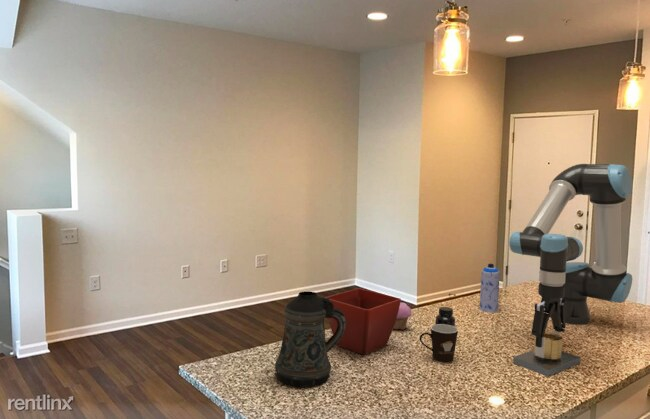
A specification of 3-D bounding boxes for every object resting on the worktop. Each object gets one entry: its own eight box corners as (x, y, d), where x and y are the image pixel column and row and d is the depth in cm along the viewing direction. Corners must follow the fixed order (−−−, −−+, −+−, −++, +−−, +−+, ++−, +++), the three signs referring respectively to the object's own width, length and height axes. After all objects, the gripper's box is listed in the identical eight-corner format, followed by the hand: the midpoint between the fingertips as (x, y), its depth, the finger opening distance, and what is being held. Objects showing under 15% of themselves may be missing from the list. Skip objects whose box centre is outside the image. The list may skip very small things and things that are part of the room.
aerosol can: (500, 312, 216) (503, 266, 214) (482, 312, 216) (484, 265, 214) (494, 307, 224) (497, 262, 222) (476, 306, 224) (479, 261, 222)
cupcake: (409, 325, 197) (410, 300, 196) (411, 333, 189) (412, 306, 188) (386, 324, 198) (387, 299, 197) (387, 331, 190) (387, 305, 189)
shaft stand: (545, 351, 173) (546, 332, 172) (580, 363, 163) (581, 343, 162) (513, 362, 162) (514, 343, 162) (548, 376, 153) (549, 355, 152)
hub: (542, 347, 168) (543, 330, 167) (566, 355, 161) (567, 337, 161) (528, 352, 163) (529, 334, 163) (552, 361, 157) (553, 342, 156)
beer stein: (266, 371, 153) (266, 289, 151) (322, 359, 163) (323, 282, 160) (289, 393, 139) (290, 304, 136) (350, 379, 148) (352, 295, 146)
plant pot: (400, 345, 176) (402, 298, 174) (366, 361, 162) (367, 309, 160) (358, 332, 189) (359, 287, 187) (322, 345, 175) (323, 297, 173)
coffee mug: (457, 355, 168) (459, 326, 167) (455, 365, 160) (456, 334, 159) (422, 350, 171) (423, 321, 170) (418, 360, 163) (419, 329, 162)
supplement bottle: (450, 346, 176) (452, 312, 174) (431, 342, 179) (432, 309, 178) (456, 340, 181) (458, 307, 180) (438, 337, 185) (439, 304, 184)
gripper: (558, 277, 169) (554, 343, 171) (521, 285, 157) (517, 356, 159) (581, 281, 163) (576, 350, 165) (543, 290, 151) (539, 364, 153)
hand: (547, 353), depth 162 cm, fingers closed on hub, 8 cm apart
